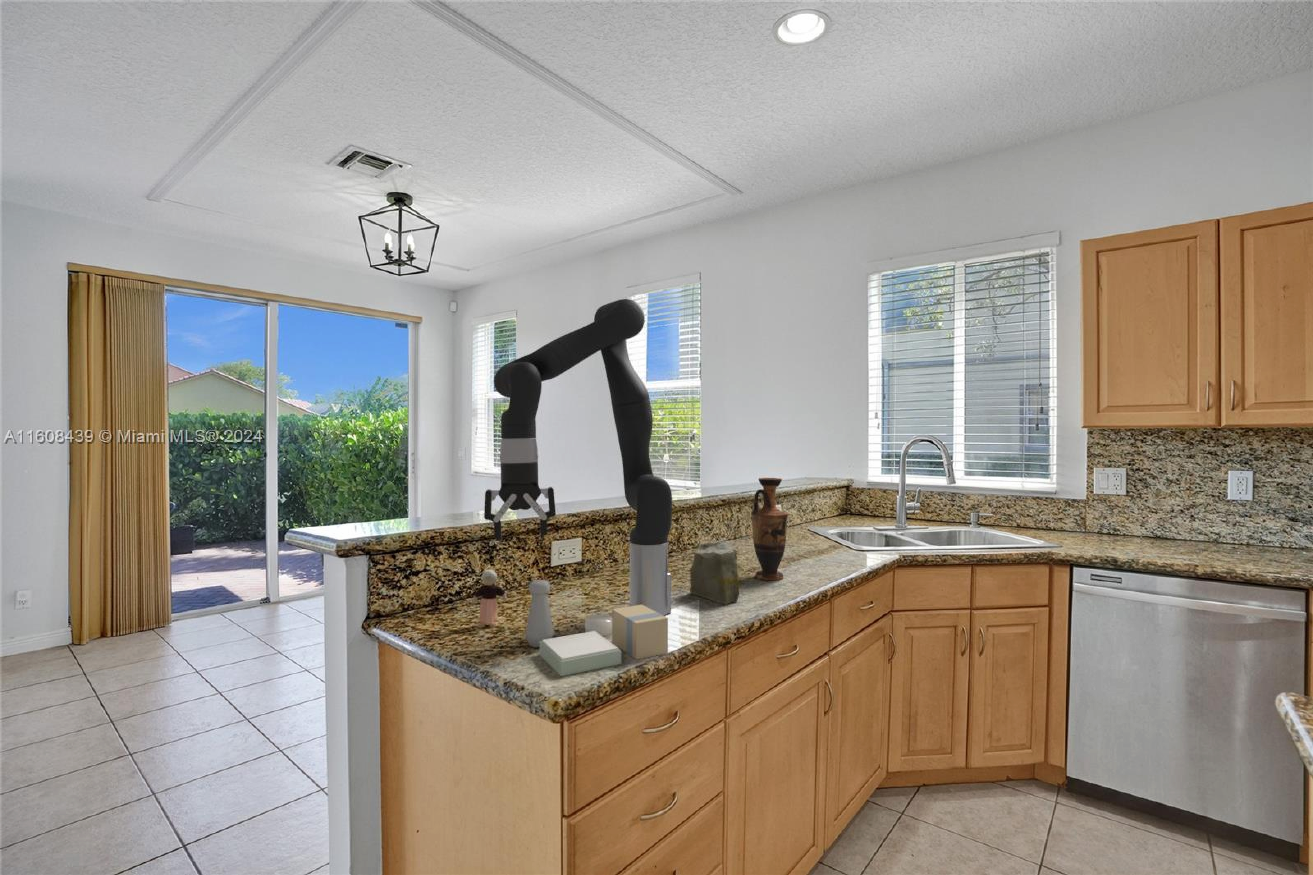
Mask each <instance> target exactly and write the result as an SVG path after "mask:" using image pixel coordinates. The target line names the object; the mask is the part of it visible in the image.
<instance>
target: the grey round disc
mask: <svg viewBox="0 0 1313 875" xmlns="http://www.w3.org/2000/svg"><path fill="white" fill-rule="evenodd" d="M584 629H585V630H584V633H586V632H591V631H596V632H597V633H598V634H600V635H601V636H603V637H604V638H605V637H609V636H612V615H609V614H592V615H589V616H586V617H585V618H584Z"/></svg>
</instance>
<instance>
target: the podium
mask: <svg viewBox="0 0 1313 875" xmlns="http://www.w3.org/2000/svg"><path fill="white" fill-rule="evenodd" d="M539 656H540V657H541V658H542V659H543V660H544V661H545V662H546V663H547V664H548V665H549V666H550V667H551V668H552V669H553V670H554V671H555V672H556V673H557V674H558V675H559V676H560V677H564V676H569V675H575V674H579V673H583V672H588V671H594V670H599V669H604V668H607V667H614V666H617V665H618V664H619V665H621V664H622V649H620V648H619V647H618V646H616V645H615V644H613V643H612V641H609V640H608V639H607V638H606V637H605V636H604V637H603V636H601V635H600V634H598V633H597V632H596V631H591V632H586V633H585V632H580V633H575V634H569V635H564V636H557V637H552V638H551V639H545V640H542V641H541V642H540V647H539ZM619 665H618V666H619Z"/></svg>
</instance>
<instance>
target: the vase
mask: <svg viewBox="0 0 1313 875" xmlns="http://www.w3.org/2000/svg"><path fill="white" fill-rule="evenodd" d="M782 480H783V479H782V478H777V477H759V478H758V481H759V482H758V483H759V484H760V485H761V486H762V489H757V491H756V492H755V493H754V494H755V495H754V497H753V509H752V511H751V513H750V514H751V524H752V525H751V526H752V529H751V530H752V540H753V548H754V551H755V555H756V557H757V560H758V562H759V565H760V568H761V570H758V571H756V572H755V574H754V577H755V579H759V580H763V581H780V580H782V579H784V573H782V572H781V571H778V569H779V566H780V564H781V561H782V559H783V557H784V553H785V551H786V550H785V548H786V542H787V533H788V532H787V530H788V527H787V526H788V517H789V513H788V512H786V511H782V510H780V509H779V508H778V507H777V505H776V490H777V488H778V487H780V485H781V482H782ZM760 494H761V495H762V497H763V505H762V508H760V505H759V496H760Z"/></svg>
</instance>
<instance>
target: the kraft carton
mask: <svg viewBox="0 0 1313 875" xmlns="http://www.w3.org/2000/svg"><path fill="white" fill-rule="evenodd" d="M611 611H612V612H611V616H612V635H611V643H612V644H614V645H615V646H617V647H618V648H619V649H620V650H621V651H623V652H625V653H626V654H627V655H628V656H630V657H631V658H633V659H635V660H637V661H638V660H640V659H647V658H651V657H656V655H657V656H661V655H666V654H669V642H668V641H669V639H668V638H669V624H668V623H669V621H668V620H669V618H668V617H667V616H665V615H662V614H660V613H658V612H655V611H653V610H651V609H649V608H648V607H646V606H644V605H636V606H630V605H629V606H623V607H618V608H612V609H611Z"/></svg>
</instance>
